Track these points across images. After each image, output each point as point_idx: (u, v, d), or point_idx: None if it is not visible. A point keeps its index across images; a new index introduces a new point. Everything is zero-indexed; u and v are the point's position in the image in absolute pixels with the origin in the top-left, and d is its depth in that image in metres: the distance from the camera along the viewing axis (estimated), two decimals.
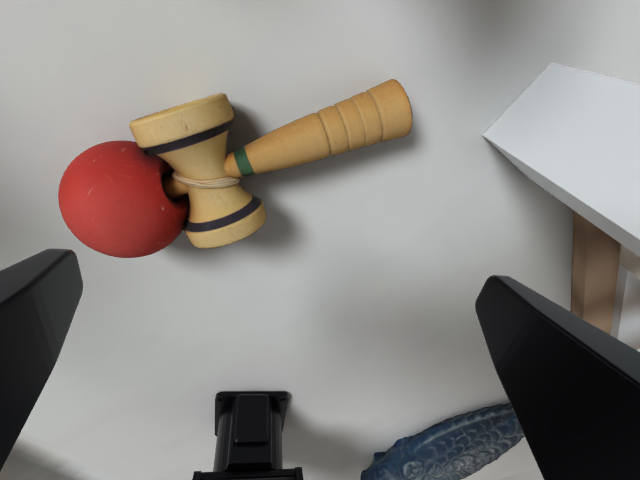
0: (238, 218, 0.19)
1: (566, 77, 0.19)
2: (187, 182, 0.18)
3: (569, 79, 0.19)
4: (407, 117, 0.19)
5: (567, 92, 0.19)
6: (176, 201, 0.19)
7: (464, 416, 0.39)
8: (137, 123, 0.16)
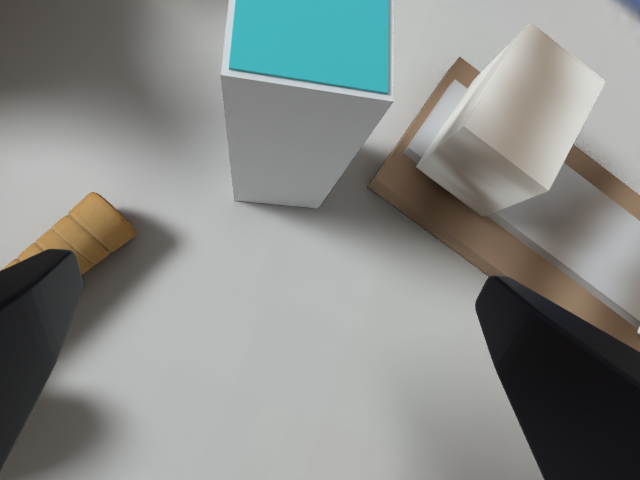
0: None
1: None
2: None
3: None
4: (105, 207, 0.18)
5: None
6: None
7: None
8: None
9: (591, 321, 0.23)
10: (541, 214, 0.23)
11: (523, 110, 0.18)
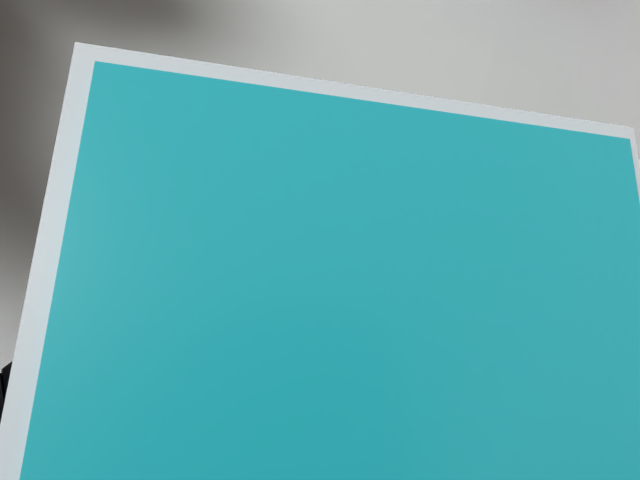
0: None
1: None
2: None
3: None
4: None
5: None
6: None
7: None
8: None
9: None
10: None
11: None
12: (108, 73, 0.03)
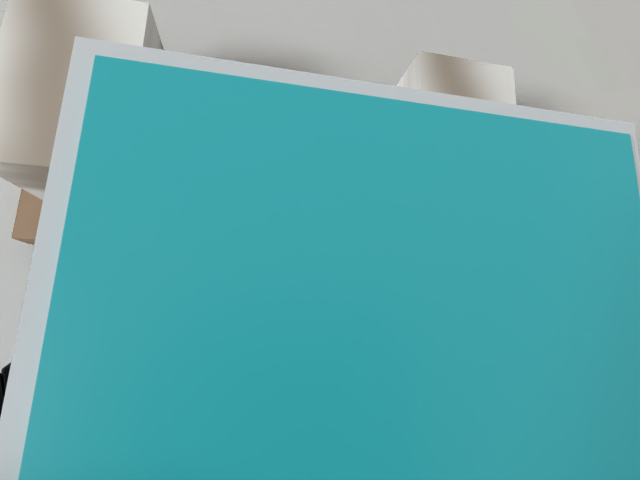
0: None
1: None
2: None
3: None
4: None
5: None
6: None
7: None
8: None
9: None
10: None
11: (48, 95, 0.14)
12: (107, 65, 0.03)
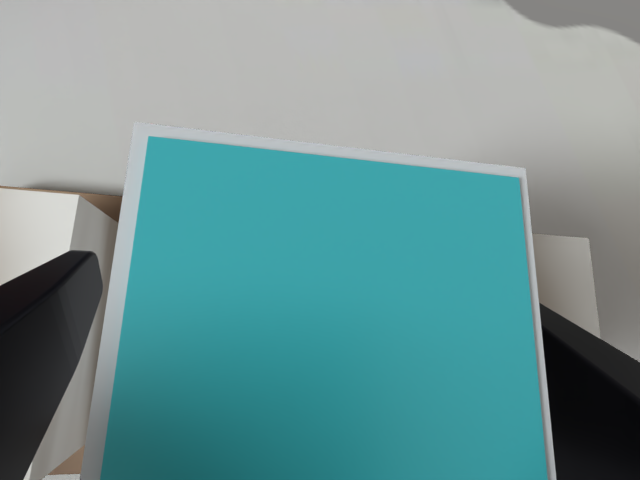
0: None
1: None
2: None
3: None
4: None
5: None
6: None
7: None
8: None
9: None
10: None
11: None
12: (156, 144, 0.04)
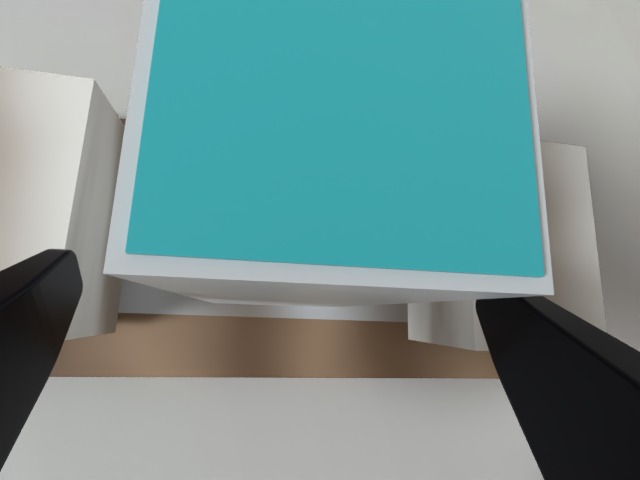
0: None
1: None
2: None
3: None
4: None
5: None
6: None
7: None
8: None
9: (353, 355, 0.17)
10: None
11: None
12: None
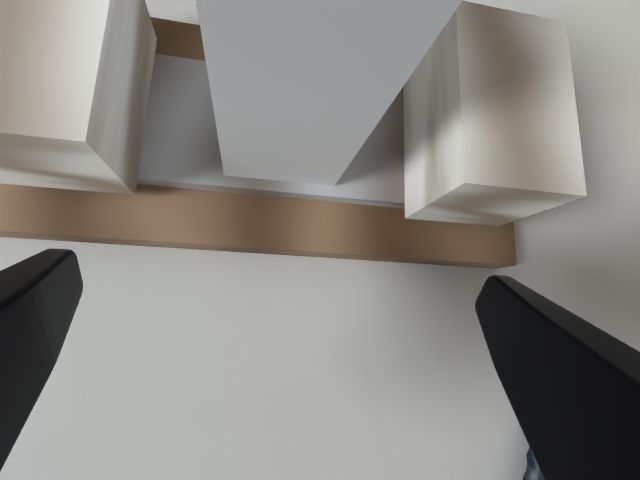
0: None
1: None
2: None
3: None
4: None
5: None
6: None
7: None
8: None
9: (353, 234, 0.18)
10: (218, 146, 0.17)
11: None
12: None
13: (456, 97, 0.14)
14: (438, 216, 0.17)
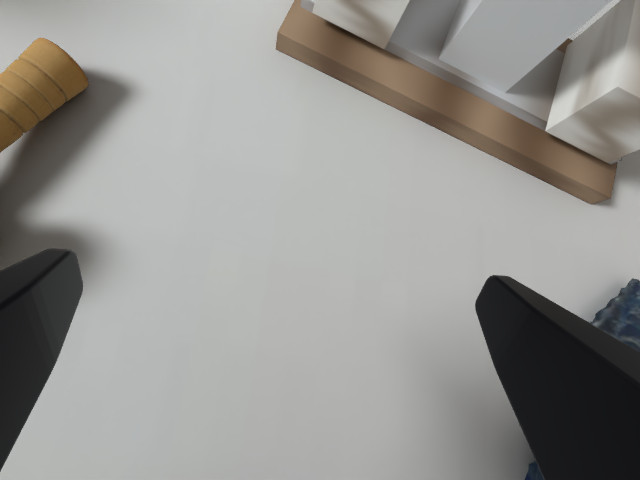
0: None
1: None
2: None
3: None
4: (51, 46, 0.19)
5: None
6: None
7: None
8: None
9: (504, 131, 0.25)
10: (439, 40, 0.24)
11: None
12: None
13: (623, 41, 0.21)
14: (571, 133, 0.24)
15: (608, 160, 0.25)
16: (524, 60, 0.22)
